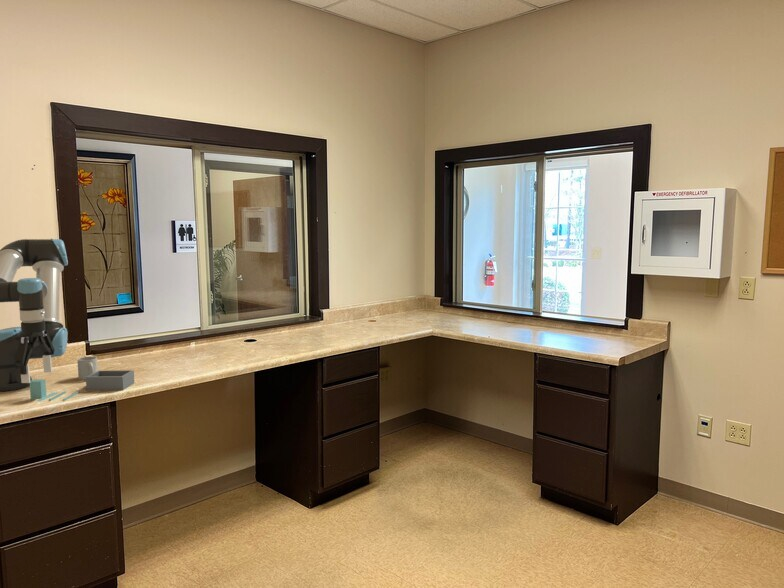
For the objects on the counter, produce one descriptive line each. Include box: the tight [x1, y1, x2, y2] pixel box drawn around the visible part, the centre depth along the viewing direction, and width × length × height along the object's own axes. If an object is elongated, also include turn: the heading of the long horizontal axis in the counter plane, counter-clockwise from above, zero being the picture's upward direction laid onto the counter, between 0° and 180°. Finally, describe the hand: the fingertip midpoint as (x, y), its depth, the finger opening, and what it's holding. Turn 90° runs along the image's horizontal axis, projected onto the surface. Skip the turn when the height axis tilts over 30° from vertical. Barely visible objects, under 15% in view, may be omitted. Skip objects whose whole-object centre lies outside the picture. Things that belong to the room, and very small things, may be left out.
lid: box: [29, 379, 80, 402], centre depth 209 cm, size 19×11×7 cm, turn 91°
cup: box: [76, 356, 99, 381], centre depth 234 cm, size 7×10×9 cm
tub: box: [85, 369, 135, 391], centre depth 222 cm, size 14×10×6 cm
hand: (37, 377), depth 208 cm, fingers open, 13 cm apart
